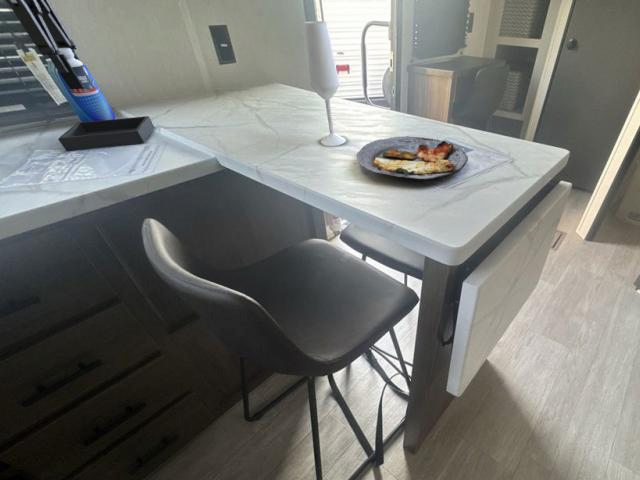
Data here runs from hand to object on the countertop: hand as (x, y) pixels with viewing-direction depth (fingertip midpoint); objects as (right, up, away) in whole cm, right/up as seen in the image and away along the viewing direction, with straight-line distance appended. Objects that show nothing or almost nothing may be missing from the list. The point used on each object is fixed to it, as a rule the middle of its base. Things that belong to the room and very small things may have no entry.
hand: (81, 85), depth 77 cm
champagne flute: (+61, -11, +7) cm, 62 cm away
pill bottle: (0, -1, +1) cm, 2 cm away
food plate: (+82, -21, -4) cm, 85 cm away
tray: (0, -9, +9) cm, 12 cm away
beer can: (-11, 0, +17) cm, 20 cm away
